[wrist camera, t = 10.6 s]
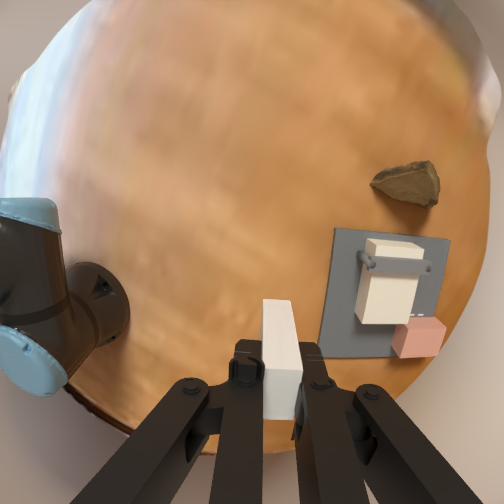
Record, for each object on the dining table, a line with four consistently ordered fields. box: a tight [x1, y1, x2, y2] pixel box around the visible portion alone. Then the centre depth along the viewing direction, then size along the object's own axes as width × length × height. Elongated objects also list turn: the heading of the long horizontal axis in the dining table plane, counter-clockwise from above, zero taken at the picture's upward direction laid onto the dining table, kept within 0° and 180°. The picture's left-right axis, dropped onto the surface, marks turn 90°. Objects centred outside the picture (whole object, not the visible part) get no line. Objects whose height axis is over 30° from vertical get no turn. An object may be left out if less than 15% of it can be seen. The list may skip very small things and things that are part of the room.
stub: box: [391, 317, 447, 358], centre depth 46 cm, size 8×6×4 cm
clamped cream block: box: [354, 238, 432, 324], centre depth 43 cm, size 11×12×6 cm
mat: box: [317, 228, 450, 358], centre depth 47 cm, size 21×22×1 cm
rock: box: [370, 160, 440, 209], centre depth 40 cm, size 11×9×10 cm
